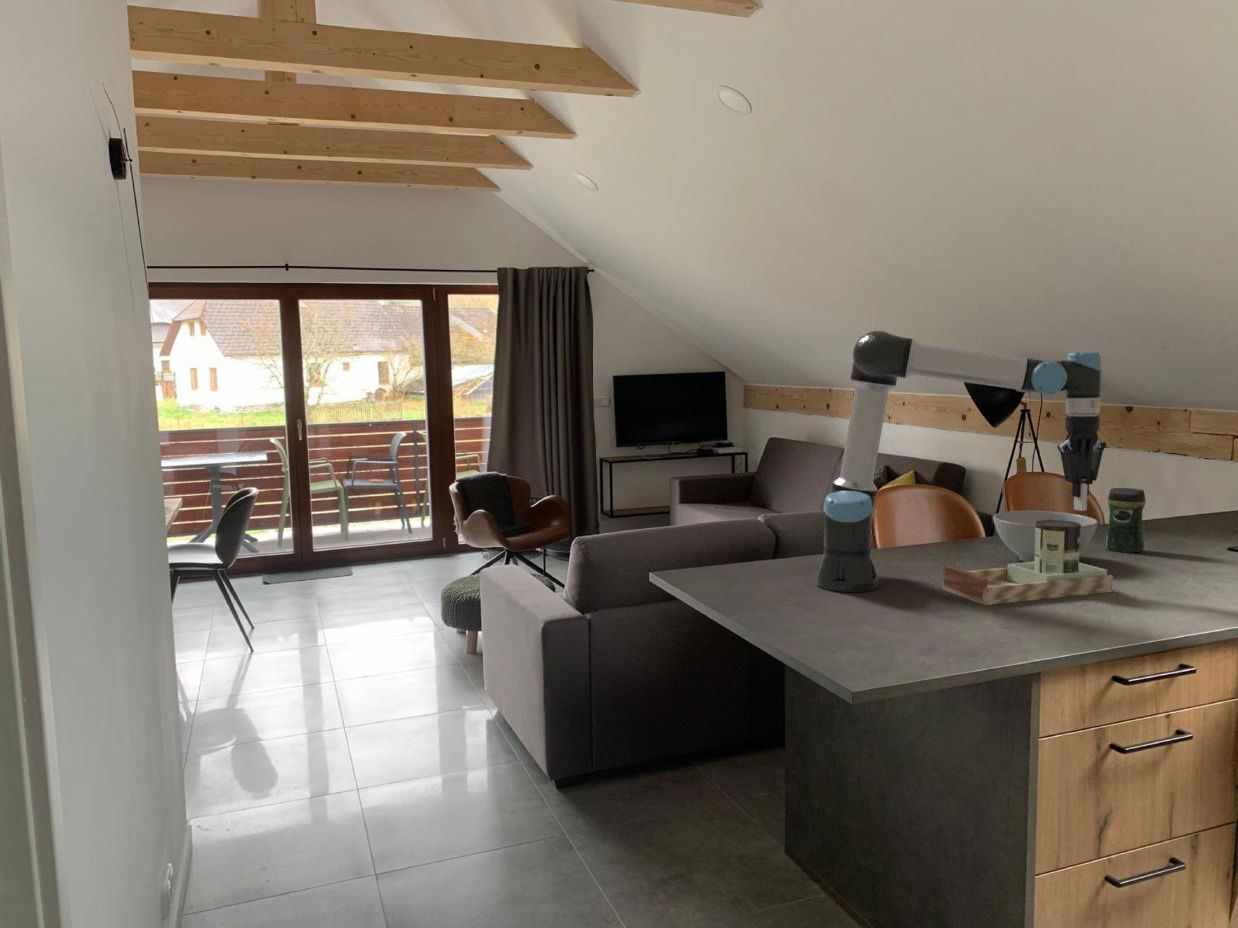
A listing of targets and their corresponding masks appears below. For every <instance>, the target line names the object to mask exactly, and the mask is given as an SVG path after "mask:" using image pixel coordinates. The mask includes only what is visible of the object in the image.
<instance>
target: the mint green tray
mask: <svg viewBox="0 0 1238 928" xmlns="http://www.w3.org/2000/svg"><path fill="white" fill-rule="evenodd" d="M1034 564H1035V562H1019V563H1018V562H1017V563H1007V567H1006V568H1007V580H1010V581H1013V582H1016V583H1019V584H1024V583H1034V582H1044V581H1054V580H1065V579H1075V578H1085V577H1095V576H1105V575H1108V569H1106V568H1105V569H1104V568H1100V567H1097V566H1094V565H1089V564H1086V563H1082V562H1079V572H1072V573H1061V574H1051V575H1046V574H1043V573H1039V572H1036V571H1034Z"/></svg>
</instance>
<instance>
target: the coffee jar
mask: <svg viewBox="0 0 1238 928" xmlns="http://www.w3.org/2000/svg"><path fill="white" fill-rule="evenodd" d="M1107 498H1108V499H1107V504H1108V507H1109V519H1108V520H1109V521H1108V527H1107V534H1106V543H1105V548H1106V549H1108V550H1109V551H1114V552H1120V551H1121V553H1141V552H1142V551H1143V550H1144V546H1145V545H1144V542H1145V541H1144V532H1143V531H1144V530H1143V510H1144V508H1145V505H1146V502H1147V501H1146V496H1145V490H1144V489H1138V488H1129V487H1115V488H1114V487H1113V488H1111V489H1109V492H1108V497H1107Z"/></svg>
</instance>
